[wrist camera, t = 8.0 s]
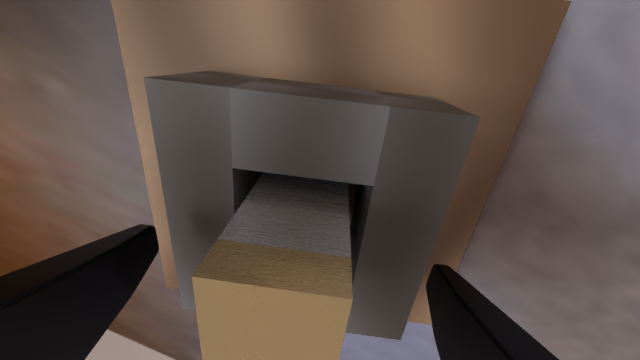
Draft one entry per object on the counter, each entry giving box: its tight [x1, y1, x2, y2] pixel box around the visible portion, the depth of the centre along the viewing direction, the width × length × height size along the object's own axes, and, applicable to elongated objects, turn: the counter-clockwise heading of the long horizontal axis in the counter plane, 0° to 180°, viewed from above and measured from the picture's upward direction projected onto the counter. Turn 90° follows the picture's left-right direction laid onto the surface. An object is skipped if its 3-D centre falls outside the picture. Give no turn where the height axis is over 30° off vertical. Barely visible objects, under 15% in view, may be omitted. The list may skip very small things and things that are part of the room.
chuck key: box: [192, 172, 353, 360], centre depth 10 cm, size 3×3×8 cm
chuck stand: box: [111, 0, 571, 340], centre depth 12 cm, size 17×17×6 cm
